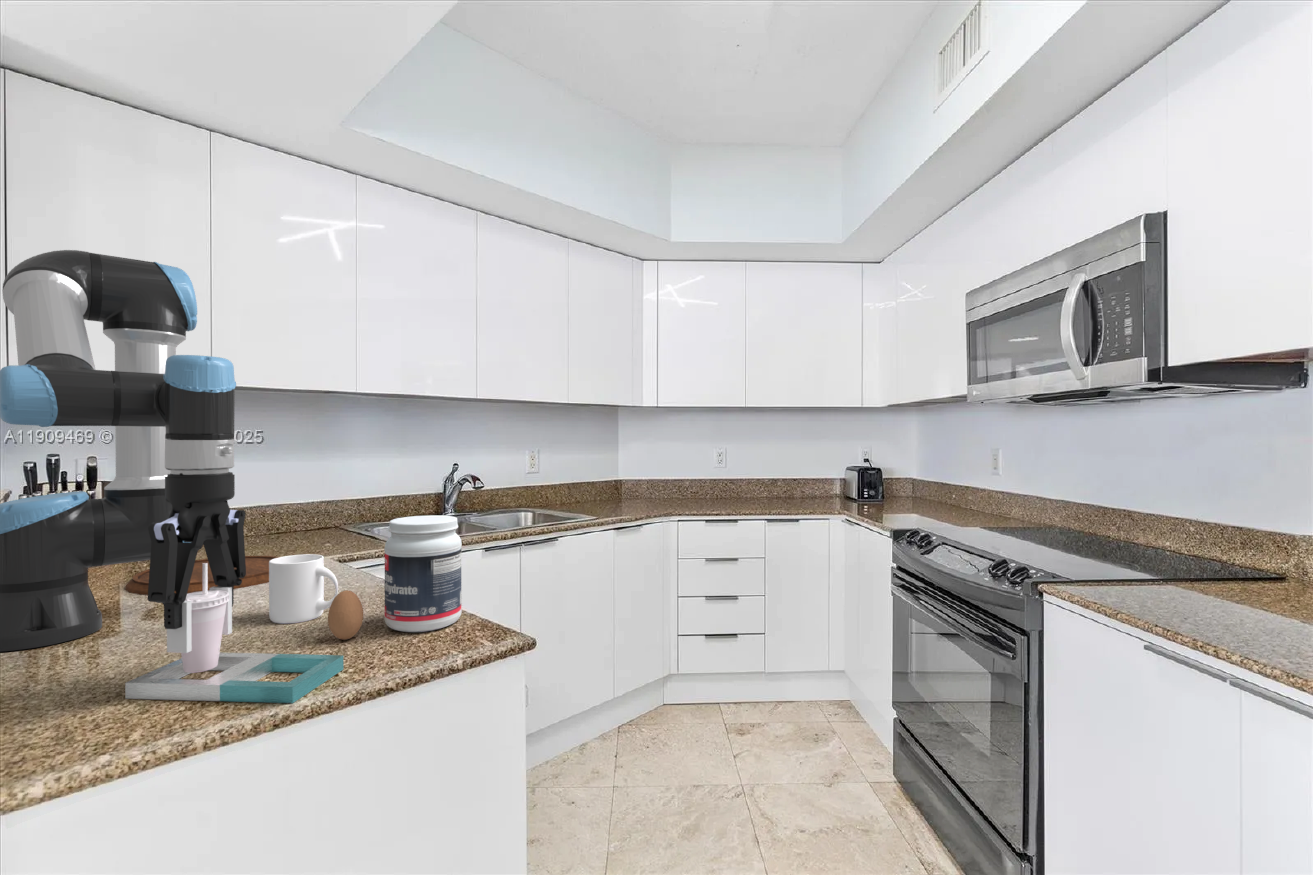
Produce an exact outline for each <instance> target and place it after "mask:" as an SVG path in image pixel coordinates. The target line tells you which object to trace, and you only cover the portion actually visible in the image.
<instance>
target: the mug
mask: <svg viewBox="0 0 1313 875" xmlns="http://www.w3.org/2000/svg"><path fill="white" fill-rule="evenodd" d="M278 557H279V558H275V559H272V560H270V561H269V582H268V611H269V612H268V614H269V616H268V617H269V619H270V621H271V622H272V623H275V624H283V625H287V624H288V625H289V624H297V623H298V624H299V623H303V622H309V621H312V620H315V619H318V618H319V617H320V616H322V614H323V613H324V611H325V610H327V609H330V606H331V604H332V602H333V600H334V598H335V597H336V596H337V595H338V594H339V583H338V582H339V581H338V579H337V577H336V575H335V573H333V571H331V570H330V569H329V568H327V567H325V566H324V565H325V564H324V563H325V562H324V560H325V558H324V556H323V555H321V554H315V553H313V554H312V553H310V554H306V553H305V554H303V553H302V554H294V555H293V554H292V555H285V556H278ZM325 578H327V579H329V580H331V581H332V583H333V584H334V587H335V593H334V596H333V597H332V598H331V599H330V600H325V598H324V597H325V581H324V580H325Z"/></svg>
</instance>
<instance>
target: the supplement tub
mask: <svg viewBox="0 0 1313 875" xmlns="http://www.w3.org/2000/svg"><path fill="white" fill-rule="evenodd" d="M388 526H389V528H388V532H389V533H390V535H391V536H390V537H389V538H388V539H387V540H386V542H385V544H384V622H385V624H386V626H387V627H388V628H390V629H392V630H394V631H398V632H402V633H403V632H404V633H423V632H424V633H425V632H430V631H436V630H441V629H442V628H445V627H448V626H451V625H452V624H454V623H456V622H457V621H458V620H459V619H460V618H461V615H462V612H463V610H462V606H463V605H462V545H463V544H462V539H461V537H460V536H459V535H458V534H457V533H456V530H457V529H458V528H459V524H458V517H456V516H453V515H443V514H442V515H433V514H432V515H414V516H405V517H398V518H394V519H391V520H389V525H388Z"/></svg>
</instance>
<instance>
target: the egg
mask: <svg viewBox="0 0 1313 875" xmlns="http://www.w3.org/2000/svg"><path fill="white" fill-rule="evenodd" d="M363 622H364V608H363V605H362V602H361V600H360V598H359V596H358V595H357V594H356V593H355V592H354V591H353V590H352V591H351V590H348V589H347V590H342V591H341V592H338V595H337V596H336V597H335V598H334V600H333V602H332V604H331V606H330V607H329V608H328V614H327V624H328V625H327V626H328V628H329V631H330V632H331V633H332V635H333V636H334V637H335V638H337V639H339V640H343V641H344V640H349V639H351V638H353V637H355V636H356V635H357V633H358V632H359V631H360V629H361V627H362V625H363Z"/></svg>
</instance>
